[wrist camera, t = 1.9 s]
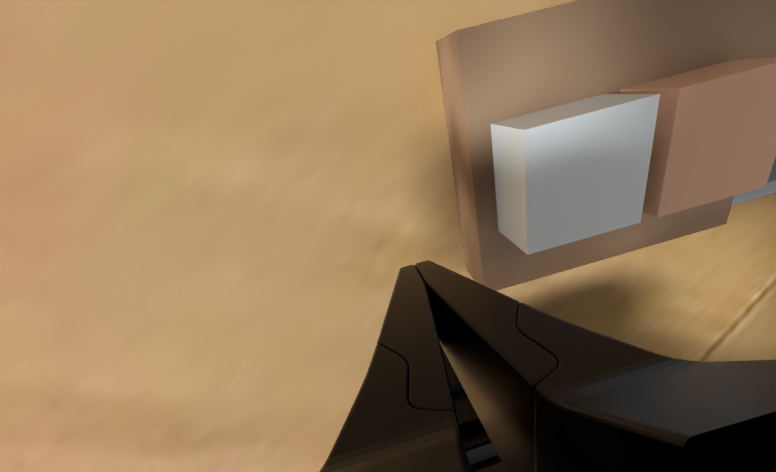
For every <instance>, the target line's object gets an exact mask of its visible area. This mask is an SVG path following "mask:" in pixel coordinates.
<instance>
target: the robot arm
mask: <svg viewBox="0 0 776 472" xmlns="http://www.w3.org/2000/svg"><path fill="white" fill-rule="evenodd" d="M319 472H776V360H756V361H723V362H698V361H687V360H681V359H675V358H671V357H666V356H662V355H659V354H656V353H653V352H650V351H647V350H644V349H641V348H638V347H636V346H633V345H630V344H627V343H624V342H622V341H619V340H616V339H613V338H610V337H608V336H605V335H602V334H599V333H596V332H594V331H591V330H588V329H585V328H582V327H580V326H577V325H574V324H572V323H569V322H566V321H564V320H561V319H558V318H556V317H553V316H551V315H549V314H546V313H544V312H542V311H539V310H537V309H535V308H532V307H530V306H528V305H526V304H524V303H519V301H517V300H515V299H512V298H510V297H508V296H506V295H504V294H501V293H499V292H497V291H495V290H493V289H491V288H488V287H486V286H484V285H482V284H480V283H477V282H475V281H473V280H471V279H469V278H466V277H464V276H462V275H460V274H458V273H455V272H453V271H451V270H449V269H447V268H444V267H442V266H440V265H438V264H436V263H434V262H431V261H429V260H427V261H423V262H420V263H417V264H416V265H415V266H414V265H409V266H406V267H402V268H401V269H400V271H399V274H398V277H397V281H396V284H395V287H394V290H393V294H392V297H391V300H390V303H389V306H388V310H387V313H386V316H385V319H384V323H383V326H382V329H381V332H380V336H379V339H378V342H377V346H376V348H375V351H374V355H373V358H372V361H371V363H370V366H369V369H368V372H367V375H366V377H365V379H364V382H363V384H362V386H361V388H360V391H359V393H358V395H357V397H356V400H355V402H354V404H353V406H352V408H351V410H350V412H349V414H348V417H347V419H346V421H345V423H344V425H343V427H342V429H341V431H340V434H339V436H338V438H337V440H336V442H335V444H334V446H333V448H332V451H331V453H330V455H329V457H328V458H327V460H326V462H325V464H324V465H323V467H322V469H321V470H320V471H319Z"/></svg>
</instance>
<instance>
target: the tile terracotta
mask: <svg viewBox="0 0 776 472" xmlns="http://www.w3.org/2000/svg"><path fill="white" fill-rule="evenodd" d="M620 94H660V99H659V106H658V112H657V119H656V125H655V132H654V139H653V145H652V152H651V158H650V165H649V171H648V178H647V184H646V191H645V197H644V204H643V211H642V212H644V213H646V214H649V215H651V216H654V217H657V218H658V217H662V216H665V215H669V214H672V213H676V212H679V211H683V210H686V209H689V208H693V207H696V206H700V205H703V204H707V203H710V202H714V201H717V200H721V199H724V198H728V197H731V196H735V195H738V194H742V193H745V192H749V191H752V190H756V189H759V188H763V187H766V184H767V181H768V178H769V175H770V172H771V169H772V166H773V163H774V160H775V157H776V57H767V58H755V59H744V60H732V61H726V62H722V63H719V64H715V65H711V66H707V67H703V68H700V69H696V70H692V71H688V72H685V73H681V74H677V75H673V76H669V77H666V78H662V79H658V80H654V81H651V82H647V83H643V84H639V85H635V86H632V87H628V88H624V89H620Z"/></svg>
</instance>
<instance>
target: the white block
mask: <svg viewBox="0 0 776 472" xmlns="http://www.w3.org/2000/svg"><path fill="white" fill-rule="evenodd" d="M659 99H660V94H601V95H598V96H594V97H590V98H586V99H582V100H579V101H575V102H571V103H567V104H564V105H560V106H556V107H552V108H548V109H545V110H541V111H537V112H533V113H530V114H526V115H522V116H518V117H514V118H511V119H507V120H503V121H499V122H495V123H492V124H491V137H492V150H493V164H494V177H495V191H496V204H497V218H498V231H499V232H501V233H502V234H503V235H504V236H505V237H507V238H508V239H509V240H510V241H511V242H513V243H514V244H515V245H516V246H517V247H519V248H520V249H521V250H522V251H524V252H525V253H526V254H527V255H529V254H533V253H536V252H540V251H543V250H546V249H550V248H553V247H557V246H560V245H564V244H567V243H571V242H574V241H578V240H581V239H585V238H588V237H592V236H595V235H599V234H602V233H606V232H609V231H613V230H616V229H620V228H623V227H627V226H630V225H634V224H637V223H641V217H642V211H643V204H644V197H645V191H646V184H647V178H648V171H649V165H650V158H651V152H652V145H653V139H654V132H655V125H656V119H657V112H658V106H659Z"/></svg>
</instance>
